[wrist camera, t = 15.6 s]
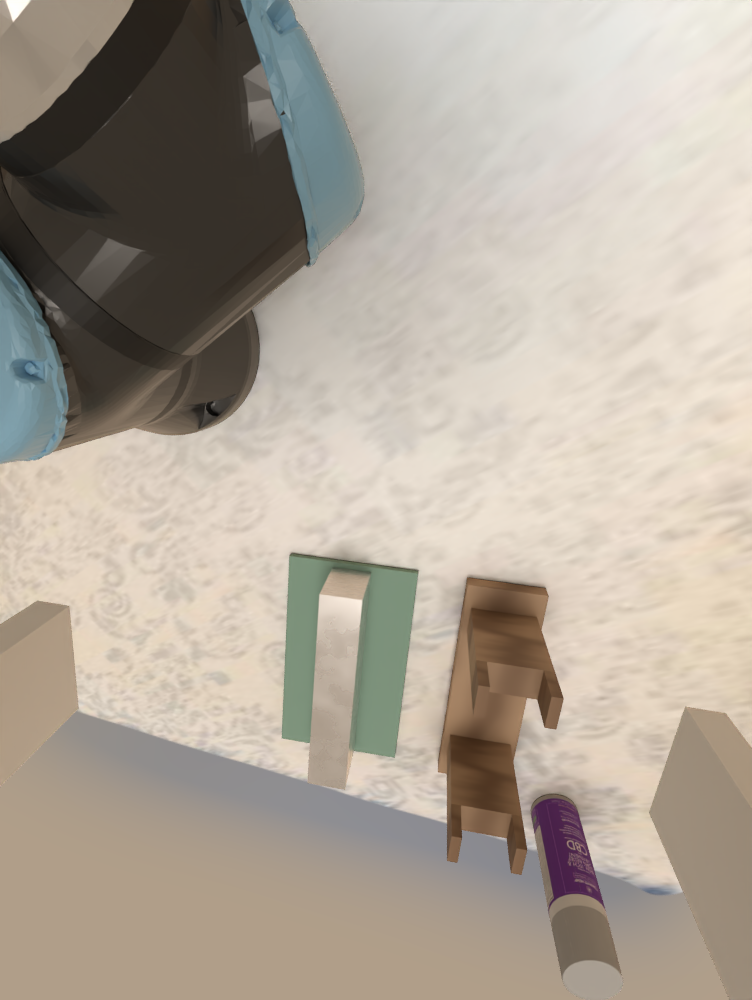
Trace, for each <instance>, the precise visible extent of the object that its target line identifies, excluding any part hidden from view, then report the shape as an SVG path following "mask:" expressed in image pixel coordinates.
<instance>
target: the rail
mask: <svg viewBox="0 0 752 1000" xmlns="http://www.w3.org/2000/svg"><path fill="white" fill-rule="evenodd" d="M370 580H371V572H365V571H358V570H351V569H343V568H336V567H333V568H332V570H331V572H330V574H329V576H328V578H327V580H326V582H325V584H324V586H323V588H322V590H321V592H320V594H319V609H318V625H317V641H316V657H315V673H314V689H313V705H312V721H311V736H310V752H309V768H308V783H310V784H316V785H322V786H327V787H333V788H338V789H344V790H345V787H346V783H347V778H348V774H349V769H350V765H351V761H352V756H353V752H354V747H355V737H356V726H357V716H358V705H359V695H360V685H361V674H362V664H363V653H364V643H365V632H366V622H367V611H368V601H369V590H370Z"/></svg>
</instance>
